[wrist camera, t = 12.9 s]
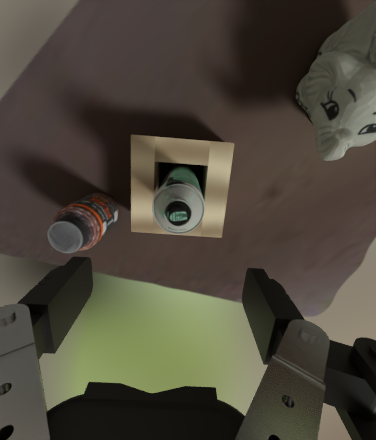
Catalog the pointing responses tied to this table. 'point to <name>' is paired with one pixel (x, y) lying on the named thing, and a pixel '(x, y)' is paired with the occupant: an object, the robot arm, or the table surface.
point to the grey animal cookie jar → (343, 87)
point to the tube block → (185, 154)
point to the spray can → (179, 201)
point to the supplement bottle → (82, 223)
